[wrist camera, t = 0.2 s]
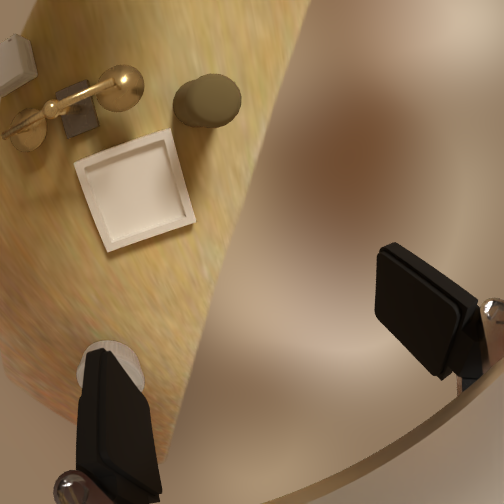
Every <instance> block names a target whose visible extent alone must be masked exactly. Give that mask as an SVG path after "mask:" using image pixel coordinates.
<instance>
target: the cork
mask: <svg viewBox="0 0 504 504" xmlns="http://www.w3.org/2000/svg"><path fill="white" fill-rule="evenodd" d="M240 107H241V94H240V90H239V88H238V87H237V85H236V84H235V82H233V81H232V80H231V79H229V78H228V77H226V76H223V75H221V74H207V75H204V76H201V77H199V78H198V79H196V80H192V81H189V82H187V83H185V84H184V85H182V86H181V87H180V88H179V90H178V91H177V92H176V94H175V97H174V100H173V108H174V112H175V115H176V116H177V117H178V119H179V120H180V121H181V122H183V123H184V124H186V125H188V126H191V127H203V126H204V127H207V128H218V127H221V126H224V125H226V124H228V123H229V122H231V121H232V120H233V119H234V118H235V116H236V115H237V114H238V112H239V109H240Z"/></svg>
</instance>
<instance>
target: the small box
mask: <svg viewBox="0 0 504 504" xmlns="http://www.w3.org/2000/svg"><path fill="white" fill-rule="evenodd" d="M37 76H38V73H37V69H36V65H35V61H34V57H33V52H32V48H31V44H30V40H28V39H25V38H23V37H22V36H19V35H17V34H13V35H12V36H10V37H9V38H7V39H6V40H4V41H3V42H1V43H0V97H4V96H6V95H7V94H9V93H10V92H12V91H14V90H15V89H17V88H19V87H20V86H22V85H24V84H25V83H27V82H29V81H31V80H32V79H34V78H36V77H37Z"/></svg>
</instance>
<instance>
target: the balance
mask: <svg viewBox="0 0 504 504" xmlns="http://www.w3.org/2000/svg"><path fill="white" fill-rule="evenodd" d="M143 92H144V80H143V77H142V75H141V73H140V72H139V71H138V70H137V69H136V68H134V67H132V66H129V65H117V66H114V67H111V68H110V69H108V70H107V71H105V72H104V73H103V74H102V76H101V77H100V78H99V80H98V83H97V84H95V85H93V86H91V87H90V86H89V82H88V80H84V81H81V82H79V83H76V84H74V85H72V86H69V87H67V88H65V89H63V90H60V91H58V92H56V98H57V100H56V99H51V100H49V101H47V102H46V103H45V104H44V106H43V110H41V111H39V110H37V109H33V108H29V109H25V110H23V111H21V112H20V113H18V114H17V115H16V117H15V118H14V119H13V121H12V124H11V127H10V129H8V130H6V131H5V132H3V133H2V138H3V139H4V140H6V139H8V138H9V137H10V139H11V142H12V144H13V145H14V147H15V148H16V149H17V150H19V151H22V152H30V151H32V150H35V149H36V148H38V147H39V146H40V145H41V144H42V142H43V141H44V139H45V137H46V134H47V121H46V118H47V119H54V118H56V117H57V116H59V115H61V118H62V121H63V125H64V129H65V132H66V136H67V139H69V138H71V137H74V136H76V135H78V134H81V133H83V132H86V131H88V130H91V129H93V128H96V127H98V126H100V125H99V121H98V118H97V114H96V110H95V106H94V102H93V98H92V95H94V94H96V97H97V100H98V102H99V103H100V105H101V106H102V107H103V108H105V109H107V110H109V111H112V112H123V111H126V110H129V109H130V108H132V107H133V106H135V105H136V104H137V103H138V102H139V100H140V99H141V97H142V95H143ZM45 117H46V118H45Z"/></svg>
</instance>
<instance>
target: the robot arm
mask: <svg viewBox="0 0 504 504" xmlns="http://www.w3.org/2000/svg"><path fill="white" fill-rule="evenodd" d="M477 303H478V299H476V298H475V297H474V296H472V295H471V294H470V293H468V292H467V291H466V290H464V289H463V288H461V287H460V286H459V285H458V284H456V283H455V282H453V281H452V280H450V279H449V278H448V277H446V276H445V275H444V274H442V273H441V272H439V271H438V270H437V269H435V268H434V267H432V266H431V265H429V264H428V263H426V262H425V261H423V260H422V259H420V258H419V257H417V256H416V255H414V254H413V253H412V252H410V251H408V250H407V249H405V248H404V247H402V246H401V245H399V244H398V243H396V242H394V243H391V244H389V245H386V246H384V247H382V248H381V249H380V251H379V253H378V255H377V270H376V295H375V315H376V317H377V318H378V320H379V321H380V322H381V323H382V324H383V325H384V326H385V327H386V328H387V329H388V330H389V331H390V332H391V333H392V334H393V335H394V336H395V337H396V338H397V339H398V340H399V341H400V342H401V343H402V344H403V345H404V346H405V347H406V348H407V349H408V350H409V352H411V354H412V355H413V356H414V357H415V358H416V359H417V360H418V361H419V362H420V363H421V364H422V365H423V366H424V367H425V368H426V369H427V370H428V371H429V372H430V373H431V374H432V375H433V376H437V377H438V378H439V379H440V380H441V381H442V380H443V379H444V378H446V377H447V376H448V375H450V374H451V373H452V371H453V372H454V373H455V374H456V377H457V397H456V398H455V399H454V400H453V401H451V402H450V403H449V404H447V405H446V406H445V407H444V408H442V409H441V410H440V411H438V412H437V413H436V414H434V415H433V416H432V417H430V418H429V419H427V420H426V421H424V422H423V423H422V424H420V425H419V426H417V427H416V428H414V429H413V430H411V431H410V432H408V433H407V434H405V435H404V436H402V437H401V438H399V439H397V440H396V441H394V442H393V443H391V444H389V445H388V446H386V447H384V448H383V449H381V450H379V451H378V452H376V453H374V454H372V455H371V456H369V457H367V458H365V459H363V460H362V461H360V462H358V463H356V464H354V465H352V466H350V467H349V468H346V469H344V470H342V471H341V472H338V473H336V474H334V475H332V476H330V477H328V478H325V479H323V480H321V481H319V482H317V483H314V484H312V485H310V486H307V487H305V488H303V489H300V490H297V491H295V492H292V493H290V494H287V495H285V496H282V497H279V498H276V499H274V500H271V501H268V502H265V503H262V504H504V300H502V299H500V298H489V299H486V300H485V301H484V302H483V303H482V304H481V306H480V307H479V306H478V305H477ZM76 439H77V440H76V470H69V471H66V472H64V473H63V474H61V475H60V476H59V477H58V479H57V480H56V482H55V485H54V490H53V495H54V500H55V502H56V504H150V503H156V502H160V499H159V494H162V486H161V480H160V475H159V469H158V464H157V458H156V452H155V445H154V439H153V432H152V424H151V417H150V408H149V404H148V402H147V400H146V398H145V397H144V395H143V394H142V393H141V391H140V390H139V389H138V388H137V386H136V385H135V384H134V382H133V381H132V380H131V378H130V377H129V375H128V374H127V373H126V371H125V370H124V369H123V367H122V366H121V364H120V363H119V361H118V360H117V359H116V357H115V356H114V354H113V353H112V352H111V351H106V350H105V349H104V348H100V349H96V350H93V351H89V352H87V354H86V359H85V367H84V376H83V385H82V395H81V397H80V398H79V404H78V418H77V438H76Z"/></svg>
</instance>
